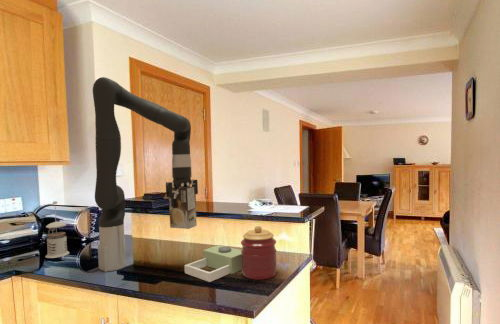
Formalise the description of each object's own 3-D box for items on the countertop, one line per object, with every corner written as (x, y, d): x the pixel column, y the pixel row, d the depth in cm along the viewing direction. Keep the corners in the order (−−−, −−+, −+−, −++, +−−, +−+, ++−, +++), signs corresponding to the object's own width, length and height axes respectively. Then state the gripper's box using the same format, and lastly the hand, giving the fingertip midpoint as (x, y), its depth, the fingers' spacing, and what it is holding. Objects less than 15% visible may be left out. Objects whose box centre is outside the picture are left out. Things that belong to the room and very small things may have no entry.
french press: (50, 259, 141) (47, 203, 140) (39, 255, 148) (37, 201, 147) (73, 253, 149) (70, 200, 148) (62, 249, 156) (60, 198, 155)
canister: (279, 268, 121) (278, 222, 121) (274, 281, 109) (272, 230, 108) (246, 266, 124) (244, 221, 124) (237, 279, 112) (236, 229, 111)
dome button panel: (211, 282, 109) (210, 262, 109) (183, 272, 120) (182, 254, 120) (248, 266, 123) (247, 249, 123) (219, 258, 134) (219, 242, 134)
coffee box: (197, 225, 129) (196, 186, 128) (188, 229, 123) (187, 188, 122) (178, 224, 132) (177, 186, 132) (169, 227, 126) (167, 187, 126)
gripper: (190, 165, 135) (191, 203, 135) (160, 166, 124) (162, 208, 124) (201, 165, 130) (202, 205, 130) (172, 166, 119) (173, 210, 119)
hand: (182, 206), depth 127 cm, fingers closed on coffee box, 7 cm apart
